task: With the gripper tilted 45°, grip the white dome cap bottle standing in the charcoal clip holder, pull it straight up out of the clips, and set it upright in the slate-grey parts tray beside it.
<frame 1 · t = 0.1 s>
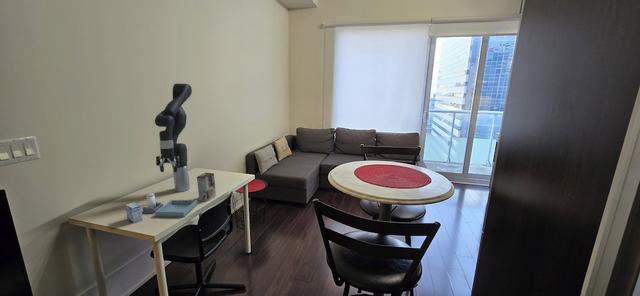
hand: (169, 172, 172), 17 cm above the table, tool pointing down, fingers open, 8 cm apart
white dome cap bottle: (152, 209, 158), on the table
parts tray: (177, 210, 158), on the table
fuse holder: (152, 209, 158), on the table
coffee box: (207, 198, 175), on the table
medicine box: (135, 220, 147), on the table
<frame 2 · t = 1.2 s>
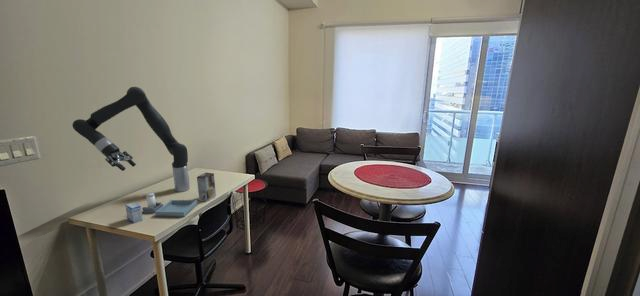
hand: (129, 167, 154), 25 cm above the table, tool tilted 45°, fingers open, 8 cm apart
nothing on the table moved.
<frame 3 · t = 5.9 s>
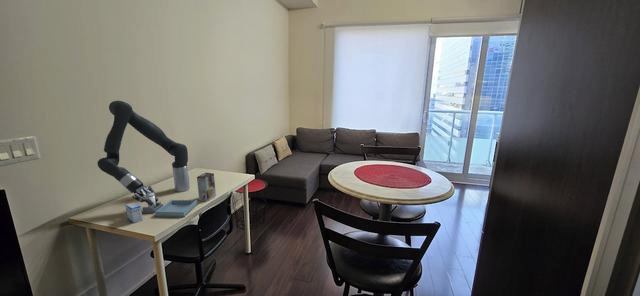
hand: (154, 202, 157), 5 cm above the table, tool tilted 45°, fingers closed on white dome cap bottle, 4 cm apart
white dome cap bottle: (152, 209, 158), on the table, touching gripper
everything else where it was.
when the fingers open (7 cm above the table, at t = 10.8 s): white dome cap bottle drops 1 cm, resting on parts tray.
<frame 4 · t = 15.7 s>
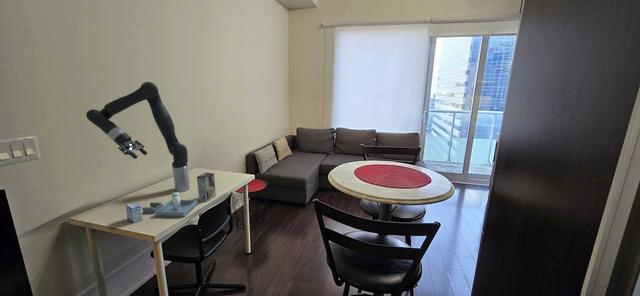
hand: (141, 156, 159), 31 cm above the table, tool tilted 45°, fingers open, 8 cm apart
white dome cap bottle: (177, 209, 158), point 1 cm above the table, touching parts tray
everything else where it was.
at the end: white dome cap bottle inside the target area on the parts tray (0.1 cm from its centre), point 0.8 cm above the parts tray's base; white dome cap bottle tilted 0°; the gripper is holding nothing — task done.
